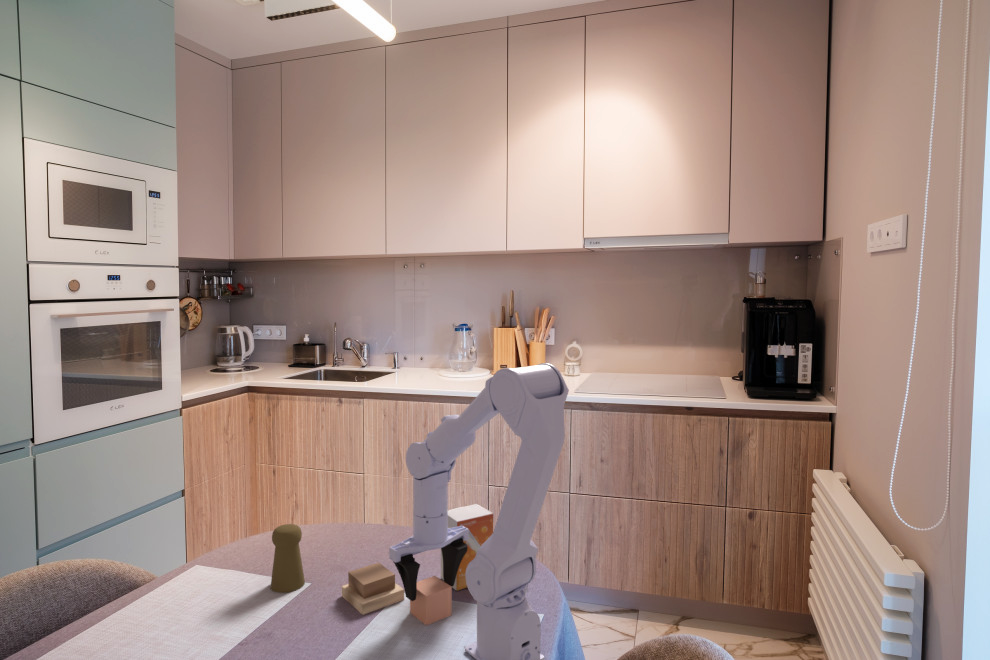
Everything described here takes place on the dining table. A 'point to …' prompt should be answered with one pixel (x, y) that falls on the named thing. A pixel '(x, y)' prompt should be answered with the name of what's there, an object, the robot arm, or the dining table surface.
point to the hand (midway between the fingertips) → (430, 591)
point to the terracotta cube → (432, 600)
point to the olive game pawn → (287, 559)
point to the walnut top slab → (371, 580)
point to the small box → (479, 532)
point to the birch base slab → (372, 599)
